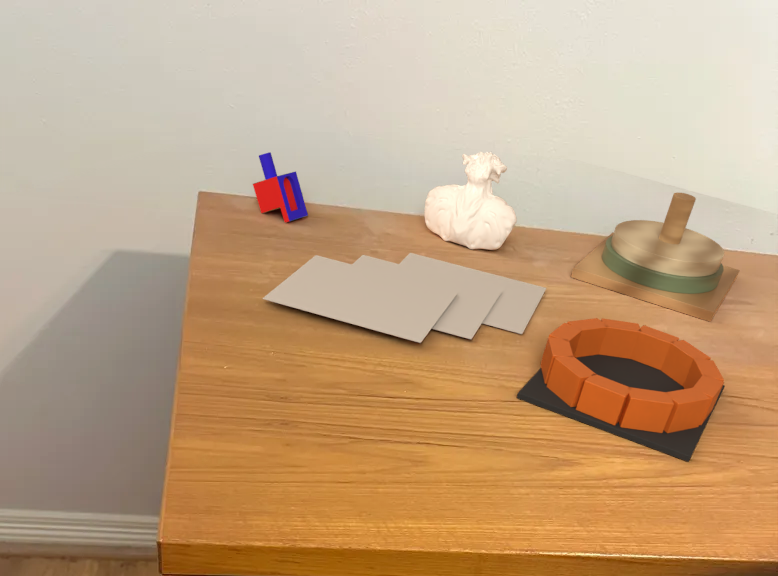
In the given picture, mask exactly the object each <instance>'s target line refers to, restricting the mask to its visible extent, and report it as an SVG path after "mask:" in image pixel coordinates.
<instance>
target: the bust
mask: <svg viewBox="0 0 778 576" xmlns="http://www.w3.org/2000/svg"><path fill="white" fill-rule="evenodd" d="M461 157H462V160H463V162H462V165H463V166H465V168H464V173H465V174H466V176H467V181H466V184H464V185H460V184H456V183H454V184H445V185H437V186H435V187H433V188H432V189H431V190H429V191H428V193H427V195H426V198H425V202H424V209H423V210H424V211H423V215H424V217H423V218H424V222H425V226H426V228H427V229H428V230H429V231H431V232H432V233H434V234H435V235H438V236H439V237H440V238H441V239H442V240H443V241H444V242H451V243H455V244H458V245H461V246H464V247H467V248H468V249H470V250H479V249H482V250H487V251H488V250H489V251H496V250H499V249H500V248H501V247H502V245H503V244H504V243H505V241H506V240H507V238H508V237H509V236H510V234H511V233H512V231H513V229H514V228H515V226H516V223H517V222H518V218H517V215H516V212H515V210H514V207H512V206H511V205H510V204H509V203H508V202H507V201H506V200H505V199H504V198H502V197H501V196H498V195H494V194H493V192H494V191H493V187H492V184H493V183H492V182H494V183H496V184H500V180H501V179H500V178H501V174H505V173H506V172H507V170H508V166H507V165H505V164H504V163H503V162H502V161H501V158H500V157H499V156H498V155H496V154H495V153H492V151H490V152H489V151H486V152H483V151H479V152H477V153H475V154H470V155H467V154H466V153H463V154H462V155H461Z"/></svg>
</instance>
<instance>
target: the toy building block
mask: <svg viewBox="0 0 778 576" xmlns="http://www.w3.org/2000/svg"><path fill="white" fill-rule="evenodd" d="M258 159H259V163H260V164H261V170H262V172H263V176H264V180H260V181H258V182H254V183H252V187H253V189H254V193H255V196H256V200H257V205H258V207H259V210H260V213H261V214H264V213H267V212H271V211H274V210H277V209H280V212H281V215H282V218H283V221H284V223H288V222H289V223H290V222H292V221H295V220H298V219H302V218H305V217H308V216H309V214H308V210H307V207H306V202H305V199H304V196H303V192H302V189H301V185H300V180H299V178H298V173H297V171H296V170H295V171H292V172H289V173H284V174H280V175H278V174H277V173H278V172H277V170H276V166H275V163H274V160H273V156H272V153H271V152H265V153H262V154H258Z"/></svg>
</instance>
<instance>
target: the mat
mask: <svg viewBox="0 0 778 576" xmlns="http://www.w3.org/2000/svg"><path fill="white" fill-rule="evenodd" d="M576 359H577V360H579V361H580V362H581V363H583V364H584V365H585V366H586V367H588V368H589V369H590V370H592V371H593V372H594V373H595V374H597V375H600V376H602V377H605V378H607V379H610V380H612V381H615V382H618V383H620V384H623V385H625V386H628V387H632V388H639V389H646V390H653V391H660V392H671V391H676V390H682V389H684V387H683V386H682V385H680V384H679V383H677V382H676V381H675V380H673V379H672V378H670V377H669V376H668V375H666V374H665V373H663V372H662V371H661V370H658V369H656V368H653V367H651V366H648V365H645V364H643V363H640V362H637V361H635V360H632V359H627V358H620V357H613V356H606V355H599V354H598V355H591V356H584V357H577V358H576ZM725 387H726V386H725V384H723V387H722V389H721V391H720V393H719V396H718V398H717V400H716V403H715V405H714V407H713V409H712V411H711V412H710V414H709V415H708V417H707V418H706V420H705V421H704V422H703V424H702V425H699V426H698V427H696V428H691V429H686V430H681V431H676V432H671V433H666V432H665V431H664V430H663V433H657V432H650V431H643V430H636V429H628V428H621V427H620V424H619V422H618V423H617V424H616V425H612V424H609V423H607V422H604V421H602V420H599V419H597V418H595V417H592V416H590V415H587V414H585V413H582V412H580V411H577V410H576V407H577V406H576V407H570V406H569V405H568V404H566V403H565V402H564V401H563V400H562V399H561V398H559V397H558V396H557V395H556V394H555V393H553V392H552V391H551V390H550V389H549V388H548V387H547V384H545V383H544V378H543V374H542V369H541V367H540V368H539V369H538V370H537V371H536V372H535V374H533V375H532V377H531V378H530V379H529V380H528V381H527V382H526V384H524V385H523V387H522V388H521V389H520V390H519V391H518V392H517V393H516V399H518V400H521V401H524V402H526V403H529V404H532V405H535V406H537V407H540V408H543V409H545V410H548V411H550V412H553V413H556V414H558V415H561V416H564V417H566V418H569V419H572V420H575V421H578V422H579V423H582V424H586V425H588V426H590V427H593V428H595V429H599V430H600V431H604V432H607V433H609V434H612V435H614V436H617V437H620V438H622V439H625V440H628V441H631V442H634V443H636V444H638V445H641V446H645V447H647V448H650V449H651V450H652V449H653V450H654V451H657V452H660V453H662V454H666V455H668V456H671V457H674V458H676V459H679V460H682V461H685V462H688V463H689V462H690V460H691V458H692V456H693V455H694V452H695V449H696V447H697V445H698V444H699V442H700V440H701V437H702V435H703V433H704V431H705V429H706V427H707V425H708V422H709V421H710V419H711V417H712V414H713V413H714V411H715V408H716V406H717V404H718V402H719V400H720V398H721V396H722V394H723V392H724V390H725Z"/></svg>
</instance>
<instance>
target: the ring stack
mask: <svg viewBox="0 0 778 576" xmlns="http://www.w3.org/2000/svg"><path fill="white" fill-rule="evenodd" d="M696 200H697V197H695V196H694V195H692V194H689V193H686V192H674V193H673V194H672V197H671V200H670V203H669V206H668V209H667V212H666V215H665V217H664V221H655V220H647V219H645V220H644V219H634V220H631V219H630V220H625V221H622V222H619V223H618V224H617V225H616V226H615V228H614V231H613V232H611V233H610V234H608V236H606V237H605V239H604V240H602V241H601V242H600V243H599V244H598V245H597V246H596V247H595V248H594V249H593V250H591V251H590V252H589V253H588V254H587V255H586V256H585V257H583V258H582V259H581V260H580V261H579V262H578V263H577V264H576V265H575V266H573V268H572V271H571V275H570V278H572V279H575V280H578V281H581V282H585V283H588V284H591V285H594V286H596V287H599V288H602V289H607V290H609V291H612V292H616V293H619V294H622V295H625V296H628V297H631V298H634V299H638V300H640V301H644V302H646V303H651V304H653V305H656V306H659V307H662V308H666V309H668V310H672V311H675V312H677V313H681V314H685V315H687V316H691V317H694V318H697V319H700V320H703V321H706V322H709V323H711V322H712V320H713V318H714V316H715V315H716V313H717V312H718V310H719V309H720V307H721V305H722V304H723V302H724V300H725V298H726V296H728V294H729V292H730V290H731V288H732V286H733V285H734V284H735V282H736V280H737V278H738V276H739V274H740V269H738V268H734V267H730V266H727V265H724V264H722V262H723V259H724V257H725V251H724V249H723V247H722V246H721V244H719V243H718V242H717V241H715V240H713V239H712V238H710V237H708V236H706V235H704V234H702V233H700V232H698V231H695V230H693V229H690V228H687V226H688V223H689V220H690V217H691V214H692V211H693V209H694V206H695V204H696Z"/></svg>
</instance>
